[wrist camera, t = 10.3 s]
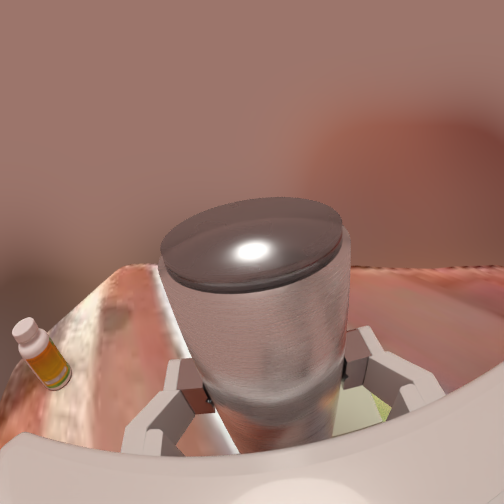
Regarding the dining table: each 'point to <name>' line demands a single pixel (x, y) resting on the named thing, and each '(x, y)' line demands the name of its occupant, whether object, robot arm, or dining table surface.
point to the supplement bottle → (41, 354)
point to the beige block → (355, 411)
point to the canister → (264, 314)
